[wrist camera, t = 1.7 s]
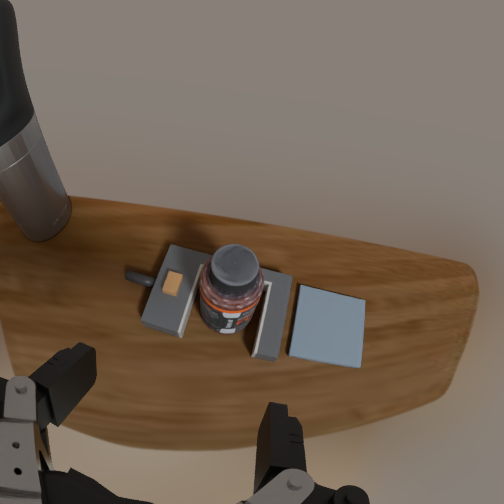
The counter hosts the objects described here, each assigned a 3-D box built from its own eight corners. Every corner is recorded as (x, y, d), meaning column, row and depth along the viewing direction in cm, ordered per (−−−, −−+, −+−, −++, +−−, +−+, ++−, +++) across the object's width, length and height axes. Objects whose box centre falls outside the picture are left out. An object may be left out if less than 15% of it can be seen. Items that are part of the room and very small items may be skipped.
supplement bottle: (239, 344, 31) (254, 310, 22) (191, 322, 32) (184, 278, 22) (259, 300, 35) (280, 250, 25) (213, 280, 35) (217, 224, 26)
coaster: (287, 355, 31) (289, 354, 31) (299, 286, 36) (300, 284, 36) (358, 368, 31) (360, 367, 31) (363, 302, 36) (365, 300, 36)
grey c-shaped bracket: (114, 315, 31) (106, 306, 28) (144, 245, 36) (140, 232, 34) (273, 361, 31) (279, 356, 28) (288, 284, 36) (294, 272, 34)
